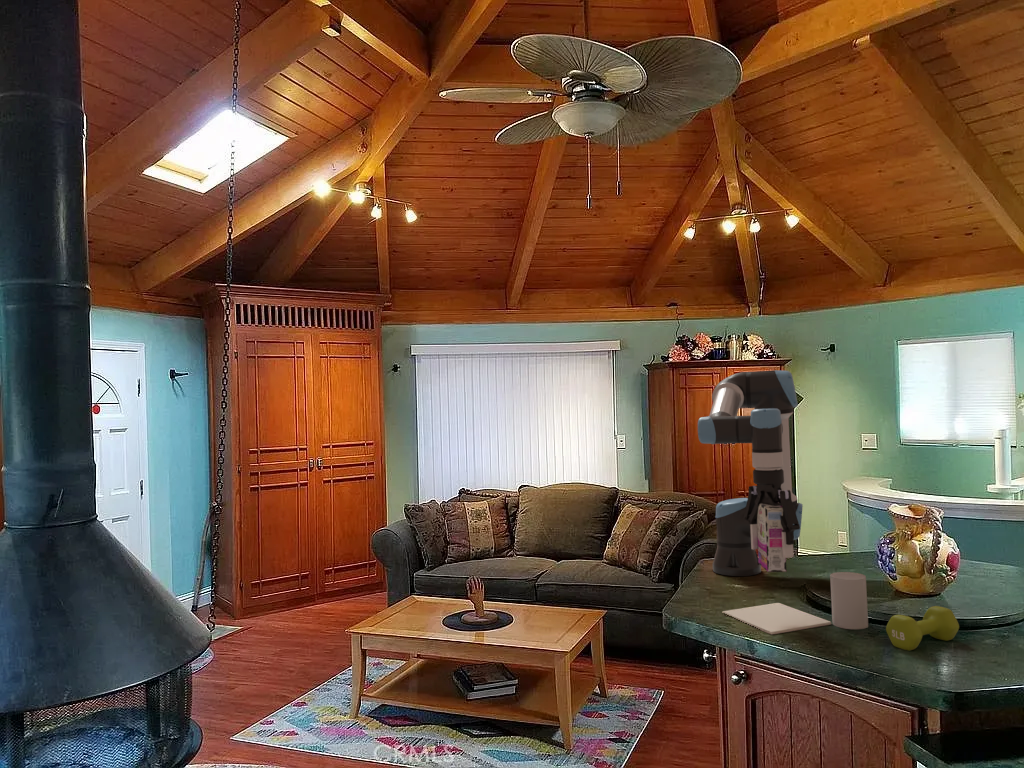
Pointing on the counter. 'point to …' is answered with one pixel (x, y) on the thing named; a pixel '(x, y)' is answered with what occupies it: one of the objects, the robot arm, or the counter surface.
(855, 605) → the cup
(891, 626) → the dumbbell
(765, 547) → the candy bar box
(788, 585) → the counter surface
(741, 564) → the robot arm
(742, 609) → the mat
